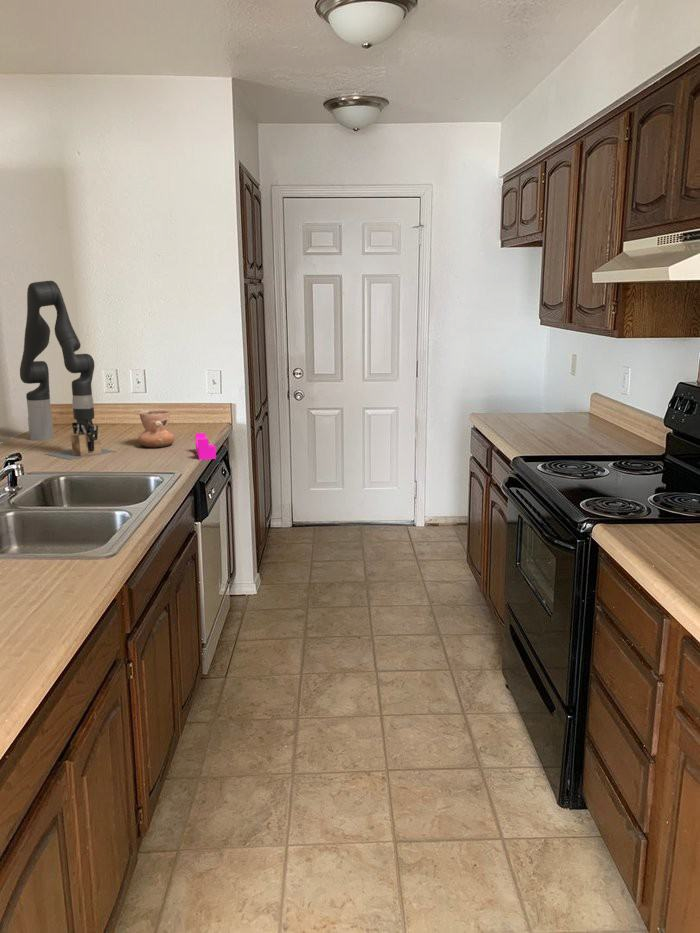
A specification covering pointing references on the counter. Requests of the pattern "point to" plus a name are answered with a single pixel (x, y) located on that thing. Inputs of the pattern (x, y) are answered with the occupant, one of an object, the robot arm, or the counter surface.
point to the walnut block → (84, 445)
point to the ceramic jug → (155, 429)
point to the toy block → (204, 447)
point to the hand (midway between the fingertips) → (86, 449)
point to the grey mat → (69, 455)
